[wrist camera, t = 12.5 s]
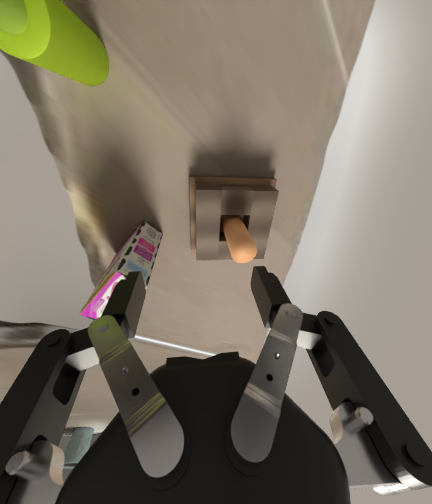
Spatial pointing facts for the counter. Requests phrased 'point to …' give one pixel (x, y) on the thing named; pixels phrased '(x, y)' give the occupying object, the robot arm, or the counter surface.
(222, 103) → the counter surface
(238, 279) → the counter surface
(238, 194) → the socket block
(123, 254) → the candy bar box
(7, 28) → the soap dispenser
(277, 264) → the counter surface
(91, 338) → the robot arm
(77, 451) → the teal embossed pot
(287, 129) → the counter surface
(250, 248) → the wooden pin
